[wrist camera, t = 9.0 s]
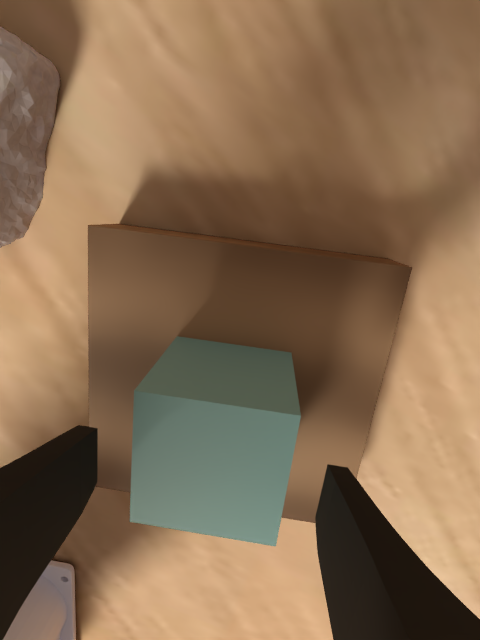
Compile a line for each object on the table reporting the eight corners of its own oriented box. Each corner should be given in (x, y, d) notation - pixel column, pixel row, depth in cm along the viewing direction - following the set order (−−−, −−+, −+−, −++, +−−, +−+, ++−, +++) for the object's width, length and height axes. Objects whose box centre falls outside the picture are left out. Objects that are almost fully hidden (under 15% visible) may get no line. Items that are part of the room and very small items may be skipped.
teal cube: (274, 450, 16) (275, 546, 12) (169, 434, 17) (129, 521, 12) (291, 352, 15) (300, 415, 10) (177, 336, 15) (133, 390, 10)
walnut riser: (333, 483, 20) (343, 527, 17) (114, 448, 21) (89, 485, 18) (387, 258, 16) (412, 267, 14) (118, 223, 17) (87, 225, 14)
